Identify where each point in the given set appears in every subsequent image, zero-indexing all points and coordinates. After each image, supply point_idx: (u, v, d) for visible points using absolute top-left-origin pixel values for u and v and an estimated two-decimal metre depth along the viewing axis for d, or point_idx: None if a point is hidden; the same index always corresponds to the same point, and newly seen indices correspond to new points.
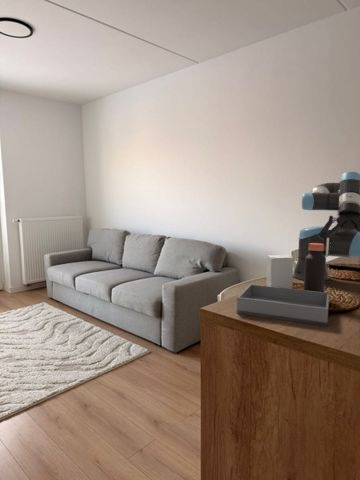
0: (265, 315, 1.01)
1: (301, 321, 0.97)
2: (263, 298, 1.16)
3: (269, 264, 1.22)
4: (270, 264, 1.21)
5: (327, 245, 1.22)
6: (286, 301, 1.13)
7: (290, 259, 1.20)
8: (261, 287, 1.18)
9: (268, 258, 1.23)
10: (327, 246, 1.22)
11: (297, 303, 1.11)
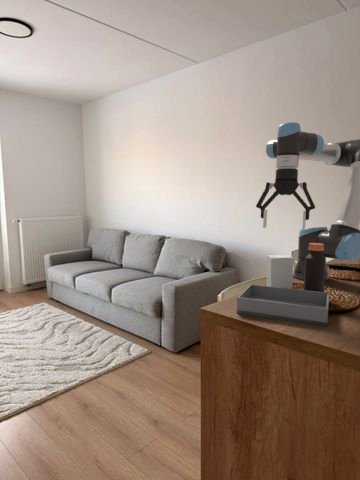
0: (265, 315, 1.01)
1: (301, 321, 0.97)
2: (263, 298, 1.16)
3: (269, 264, 1.22)
4: (270, 264, 1.21)
5: (264, 218, 1.22)
6: (286, 301, 1.13)
7: (290, 259, 1.20)
8: (261, 287, 1.18)
9: (268, 258, 1.23)
10: (264, 219, 1.22)
11: (297, 303, 1.11)
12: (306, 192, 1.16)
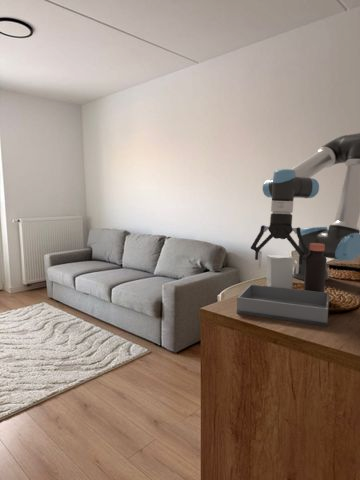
0: (265, 315, 1.01)
1: (301, 321, 0.97)
2: (263, 298, 1.16)
3: (269, 264, 1.22)
4: (270, 264, 1.21)
5: (258, 260, 1.24)
6: (286, 301, 1.13)
7: (290, 259, 1.20)
8: (261, 287, 1.18)
9: (268, 258, 1.23)
10: (258, 261, 1.24)
11: (297, 303, 1.11)
12: (300, 237, 1.18)
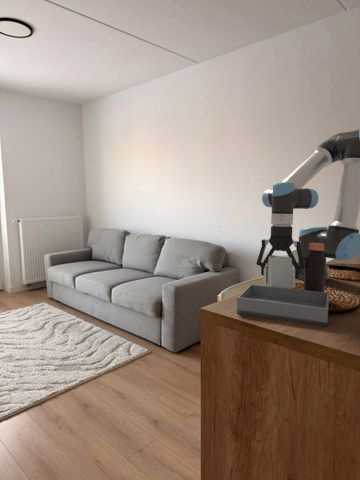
0: (265, 315, 1.01)
1: (301, 321, 0.97)
2: (263, 298, 1.16)
3: (269, 264, 1.22)
4: (270, 264, 1.21)
5: (264, 276, 1.25)
6: (286, 301, 1.13)
7: (290, 259, 1.20)
8: (261, 287, 1.18)
9: (268, 258, 1.23)
10: (264, 277, 1.25)
11: (297, 303, 1.11)
12: (298, 251, 1.19)
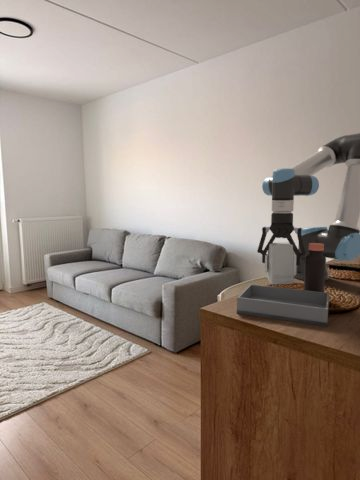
0: (265, 315, 1.01)
1: (301, 321, 0.97)
2: (263, 298, 1.16)
3: (270, 251, 1.22)
4: (271, 251, 1.21)
5: (265, 263, 1.24)
6: (286, 301, 1.13)
7: (291, 246, 1.19)
8: (261, 287, 1.18)
9: (269, 245, 1.23)
10: (265, 265, 1.24)
11: (297, 303, 1.11)
12: (299, 238, 1.18)
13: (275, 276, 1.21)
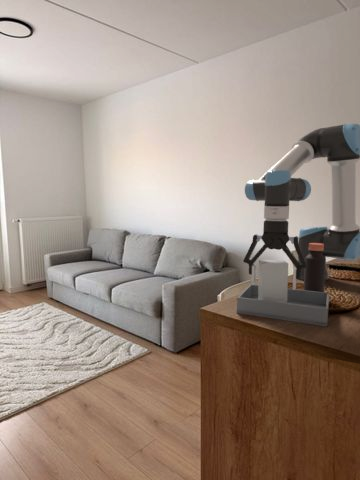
0: (265, 315, 1.01)
1: (301, 321, 0.97)
2: None
3: (261, 270, 1.07)
4: (262, 270, 1.06)
5: (252, 275, 1.09)
6: None
7: (284, 265, 1.04)
8: None
9: (260, 263, 1.08)
10: (252, 276, 1.09)
11: (297, 303, 1.11)
12: (297, 248, 1.03)
13: (265, 299, 1.06)
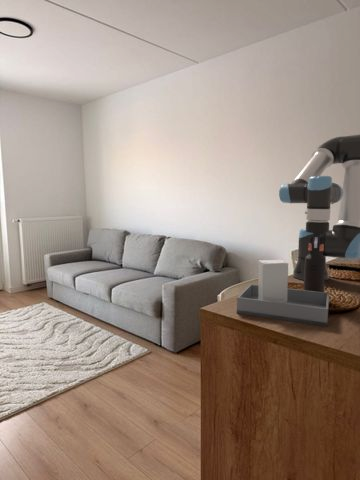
0: (265, 315, 1.01)
1: (301, 321, 0.97)
2: None
3: (261, 270, 1.07)
4: (262, 270, 1.06)
5: None
6: None
7: (284, 265, 1.04)
8: None
9: (260, 263, 1.08)
10: None
11: (297, 303, 1.11)
12: None
13: (265, 299, 1.06)
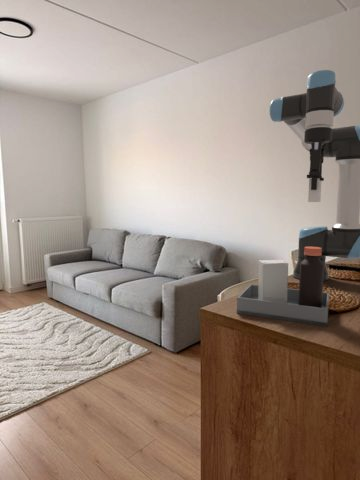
0: (265, 315, 1.01)
1: (301, 321, 0.97)
2: None
3: (261, 270, 1.07)
4: (262, 270, 1.06)
5: None
6: None
7: (284, 265, 1.04)
8: None
9: (260, 263, 1.08)
10: None
11: (297, 303, 1.11)
12: (311, 155, 0.93)
13: (265, 299, 1.06)
